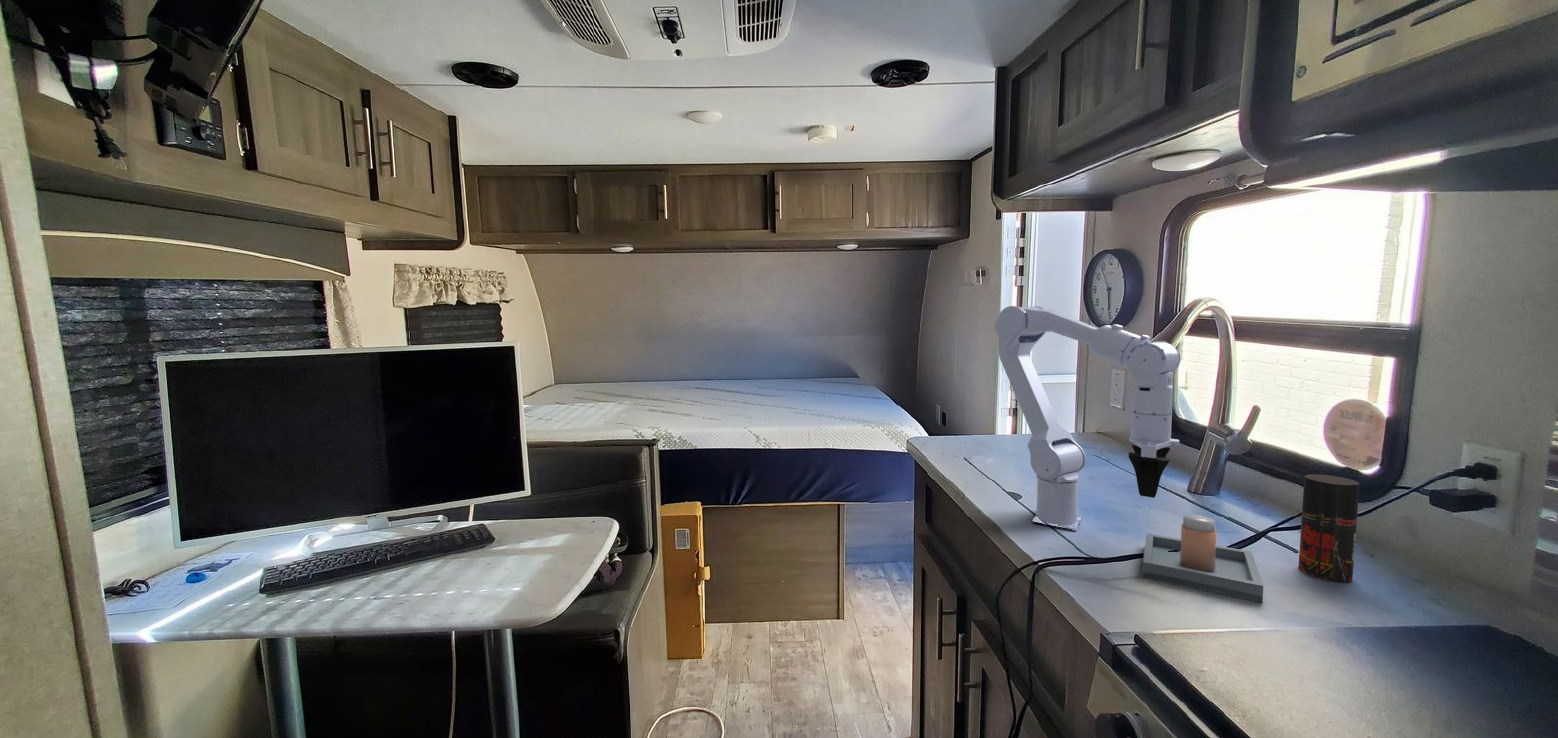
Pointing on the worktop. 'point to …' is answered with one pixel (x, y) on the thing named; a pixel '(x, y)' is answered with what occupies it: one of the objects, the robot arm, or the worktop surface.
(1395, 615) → the worktop surface
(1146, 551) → the tray
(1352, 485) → the deodorant
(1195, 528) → the shaker
